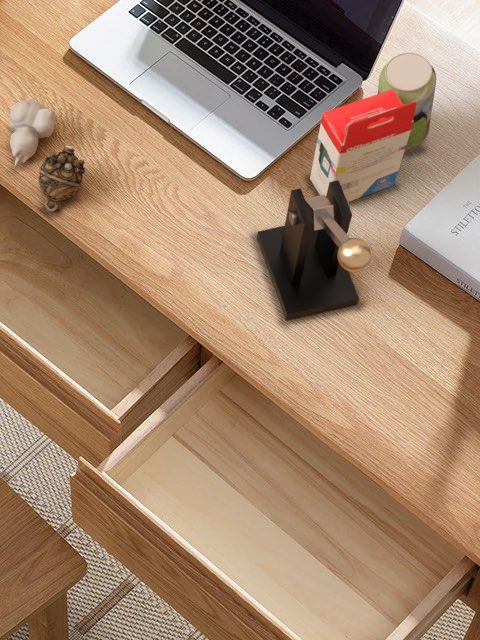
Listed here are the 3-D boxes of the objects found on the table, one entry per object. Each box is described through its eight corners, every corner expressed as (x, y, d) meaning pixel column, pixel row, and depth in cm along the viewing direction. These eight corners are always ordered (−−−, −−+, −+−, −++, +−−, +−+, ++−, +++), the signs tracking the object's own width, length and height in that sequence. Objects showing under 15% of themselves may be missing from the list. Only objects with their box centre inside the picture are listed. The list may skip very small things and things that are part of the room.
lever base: (357, 305, 134) (378, 238, 122) (285, 320, 133) (299, 255, 122) (325, 223, 138) (342, 151, 127) (256, 238, 138) (267, 167, 126)
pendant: (56, 138, 141) (96, 153, 140) (35, 202, 143) (75, 217, 143) (44, 138, 137) (85, 154, 136) (22, 204, 139) (63, 220, 138)
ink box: (374, 154, 142) (399, 67, 129) (395, 187, 140) (422, 101, 127) (307, 178, 141) (325, 92, 128) (326, 211, 139) (346, 127, 126)
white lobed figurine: (4, 95, 144) (-16, 158, 143) (40, 88, 139) (20, 153, 138) (37, 116, 148) (18, 177, 146) (74, 110, 143) (54, 174, 142)
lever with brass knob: (377, 273, 117) (376, 243, 115) (344, 280, 117) (343, 250, 115) (330, 217, 128) (329, 189, 126) (300, 224, 128) (299, 196, 126)
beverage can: (437, 134, 143) (461, 62, 133) (394, 170, 141) (415, 100, 131) (395, 103, 145) (416, 30, 135) (353, 138, 143) (370, 67, 133)
